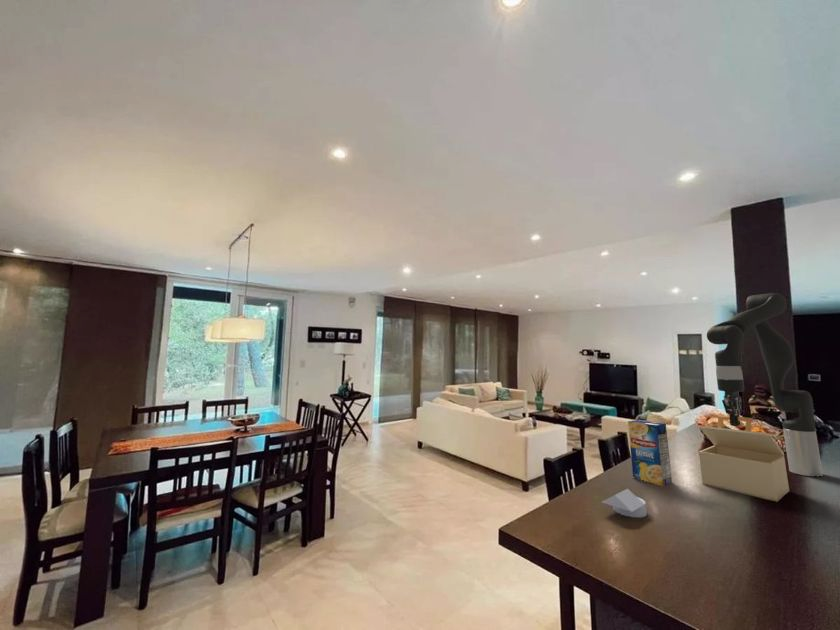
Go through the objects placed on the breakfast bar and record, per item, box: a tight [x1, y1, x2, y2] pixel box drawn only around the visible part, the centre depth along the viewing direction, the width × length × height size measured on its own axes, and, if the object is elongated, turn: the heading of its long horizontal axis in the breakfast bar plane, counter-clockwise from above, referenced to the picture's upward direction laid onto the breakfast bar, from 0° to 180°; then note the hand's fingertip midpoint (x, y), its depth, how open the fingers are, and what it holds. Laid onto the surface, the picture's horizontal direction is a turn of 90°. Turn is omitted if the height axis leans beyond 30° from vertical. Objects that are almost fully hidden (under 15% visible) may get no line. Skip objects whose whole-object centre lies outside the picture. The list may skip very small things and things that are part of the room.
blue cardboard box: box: [627, 419, 673, 487], centre depth 138 cm, size 7×11×22 cm, turn 30°
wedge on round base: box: [601, 488, 647, 518], centre depth 108 cm, size 9×7×13 cm
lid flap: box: [698, 414, 785, 457], centre depth 131 cm, size 16×20×6 cm
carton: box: [698, 444, 790, 503], centre depth 128 cm, size 16×20×12 cm
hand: (735, 425), depth 129 cm, fingers closed
